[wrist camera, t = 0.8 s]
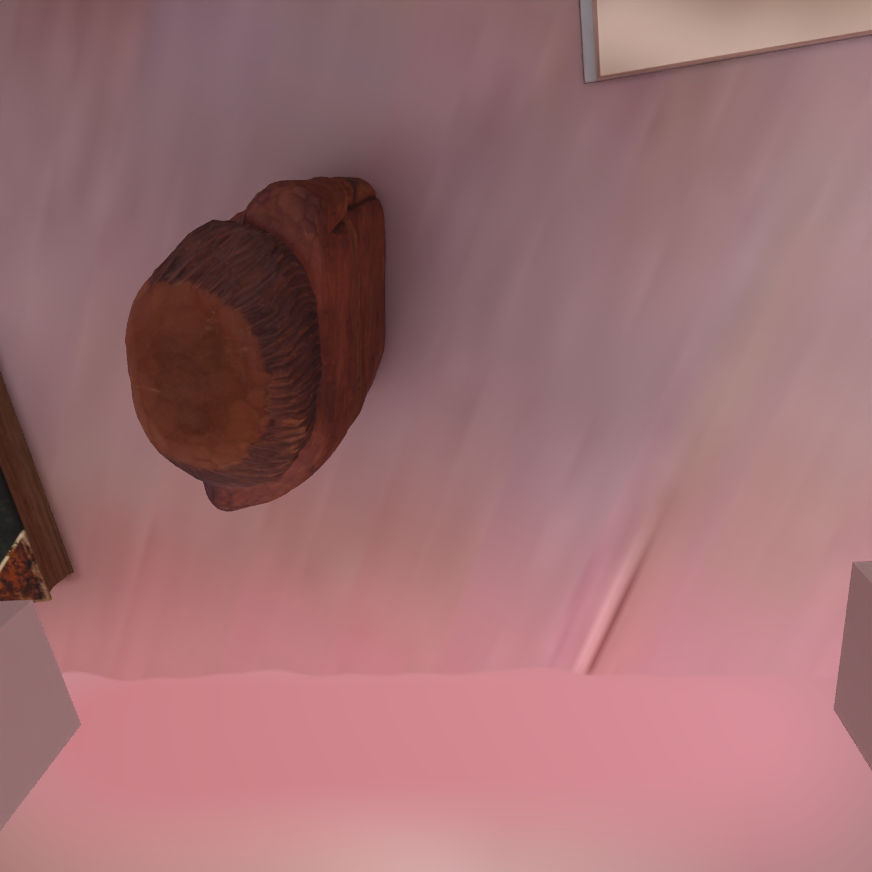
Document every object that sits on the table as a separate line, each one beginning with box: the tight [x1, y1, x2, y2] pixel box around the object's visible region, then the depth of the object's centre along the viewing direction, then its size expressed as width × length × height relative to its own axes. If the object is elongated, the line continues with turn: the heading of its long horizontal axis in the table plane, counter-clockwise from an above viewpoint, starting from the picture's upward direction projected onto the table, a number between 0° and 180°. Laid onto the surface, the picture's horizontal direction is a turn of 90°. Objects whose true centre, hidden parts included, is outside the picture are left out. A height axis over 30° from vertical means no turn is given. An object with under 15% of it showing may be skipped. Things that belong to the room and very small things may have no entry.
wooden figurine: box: [125, 177, 385, 511], centre depth 27 cm, size 12×6×18 cm, turn 177°
